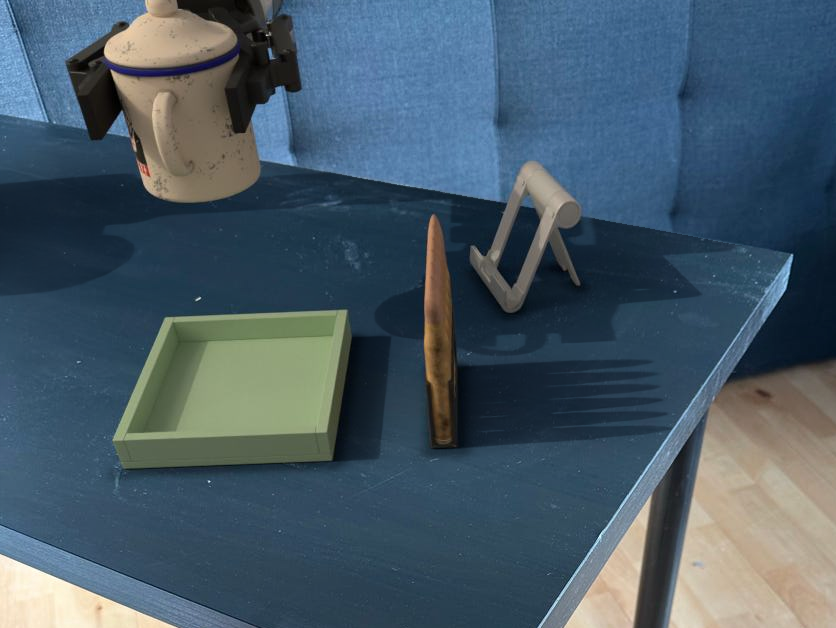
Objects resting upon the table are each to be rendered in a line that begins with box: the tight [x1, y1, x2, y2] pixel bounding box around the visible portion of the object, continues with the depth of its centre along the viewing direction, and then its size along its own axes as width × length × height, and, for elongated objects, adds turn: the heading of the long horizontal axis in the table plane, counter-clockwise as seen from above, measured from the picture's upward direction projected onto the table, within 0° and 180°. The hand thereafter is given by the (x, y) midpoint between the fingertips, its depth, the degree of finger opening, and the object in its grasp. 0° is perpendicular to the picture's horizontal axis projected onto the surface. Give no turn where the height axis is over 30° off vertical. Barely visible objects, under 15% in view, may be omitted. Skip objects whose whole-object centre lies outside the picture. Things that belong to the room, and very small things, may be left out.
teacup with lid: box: [104, 0, 262, 204], centre depth 64 cm, size 12×9×12 cm
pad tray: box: [112, 309, 353, 470], centre depth 69 cm, size 15×17×2 cm
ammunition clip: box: [423, 213, 459, 449], centre depth 64 cm, size 11×2×12 cm, turn 1°
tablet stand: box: [469, 160, 582, 314], centre depth 78 cm, size 9×8×8 cm
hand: (162, 114), depth 61 cm, fingers closed on teacup with lid, 9 cm apart
